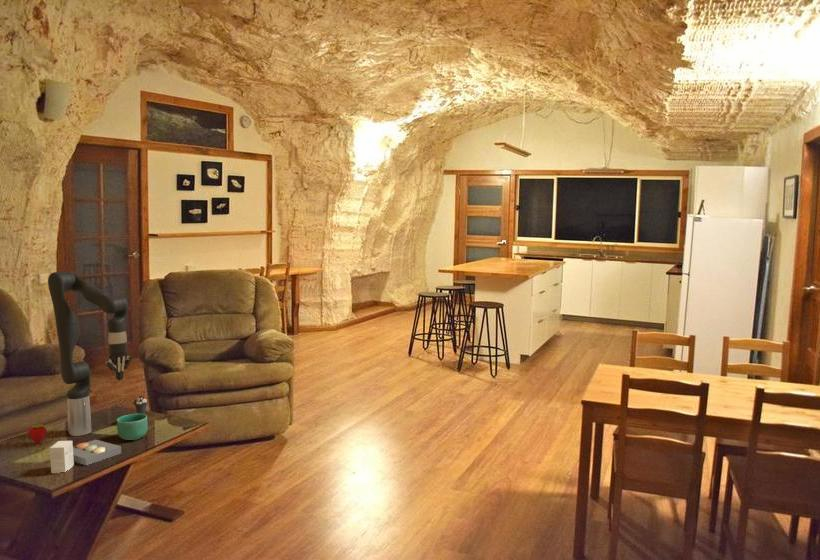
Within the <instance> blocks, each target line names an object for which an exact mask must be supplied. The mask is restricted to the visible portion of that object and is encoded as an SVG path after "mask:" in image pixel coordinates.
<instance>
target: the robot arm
mask: <svg viewBox="0 0 820 560" xmlns="http://www.w3.org/2000/svg"><path fill="white" fill-rule="evenodd" d="M47 285H48V290H49V296H50V298H51V299H50V300H51V303H52V306H53V312H54V319H55V327H56V328H55V329H56V333H57V339H58V340H57V341H58V346H59V360H60V373H61V378H62V379H61V380H62V381H63V383H65V385H72V384H74V386H73V387H71V388H70V389H69V390H68V391H67V393H66V399H67V400H66V401H67V416H66V417H67V418H66V419H67V430H68V434H69V436H73V437H77V436H79V437H80V436H84V435H88V434H90V433H92V418H91V417H92V416H91V415H92V414H91V402H90V391H91V369H90V366H89V364H88V363H87V362H86V361H83V360H81V361H80V360H79V361H75V362H74V359H73V357H74V355H73V354H74V349H75V347H76V345H77V342H78V340H79V338H80V333H81V329H80V324H79V323H80V322H79V318H78V316H77V314H76V313H75V312H74V311H73V309H72V308H71V307H70V306H69V304H68V302H67V299H66V294H65V292H70V291H72V292H75V293H79V294H81V295H82V297H83V298H84V300H86V301H87V302H89V303H91V304H93V305H95V306H97V307H99V309H101V310H102V312H104V313H106V314H112V315H113V317H112V318H110V319H109V320H108V321H107V328H108V330H107V331H108V333H107V334H108V336H107V339H108V341H107V342H108V353H109V357H108V360H107V361H104V364H105V366H106V367H107V368H108V369H109V370H110V371H111V372H115V379H116V380H118V381H122V380H123V379H124V371H125V370H127V369H128V368H129V365H130V364H131V362H132V360H133V356H130V355H129V353H128V340H127V339H128V338H127V337H128V336H127V331H126V320H127V316H128V310H129V302H128V300H127V298H126V297H124V296H122V295H121V296H119V295H118V296H113V297H111V295H110V293H108V292H107V291H105V290H102V289H100V288H98V287H96V286H94V285H92V284H90V283H88V282H87V281H86V280H84V279H82V278H81V277H80V276H78V275H77V274H76V273H74V272H72V271H65V270H64V271H54V272H51V273H50V274H49V276H48V278H47Z"/></svg>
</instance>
